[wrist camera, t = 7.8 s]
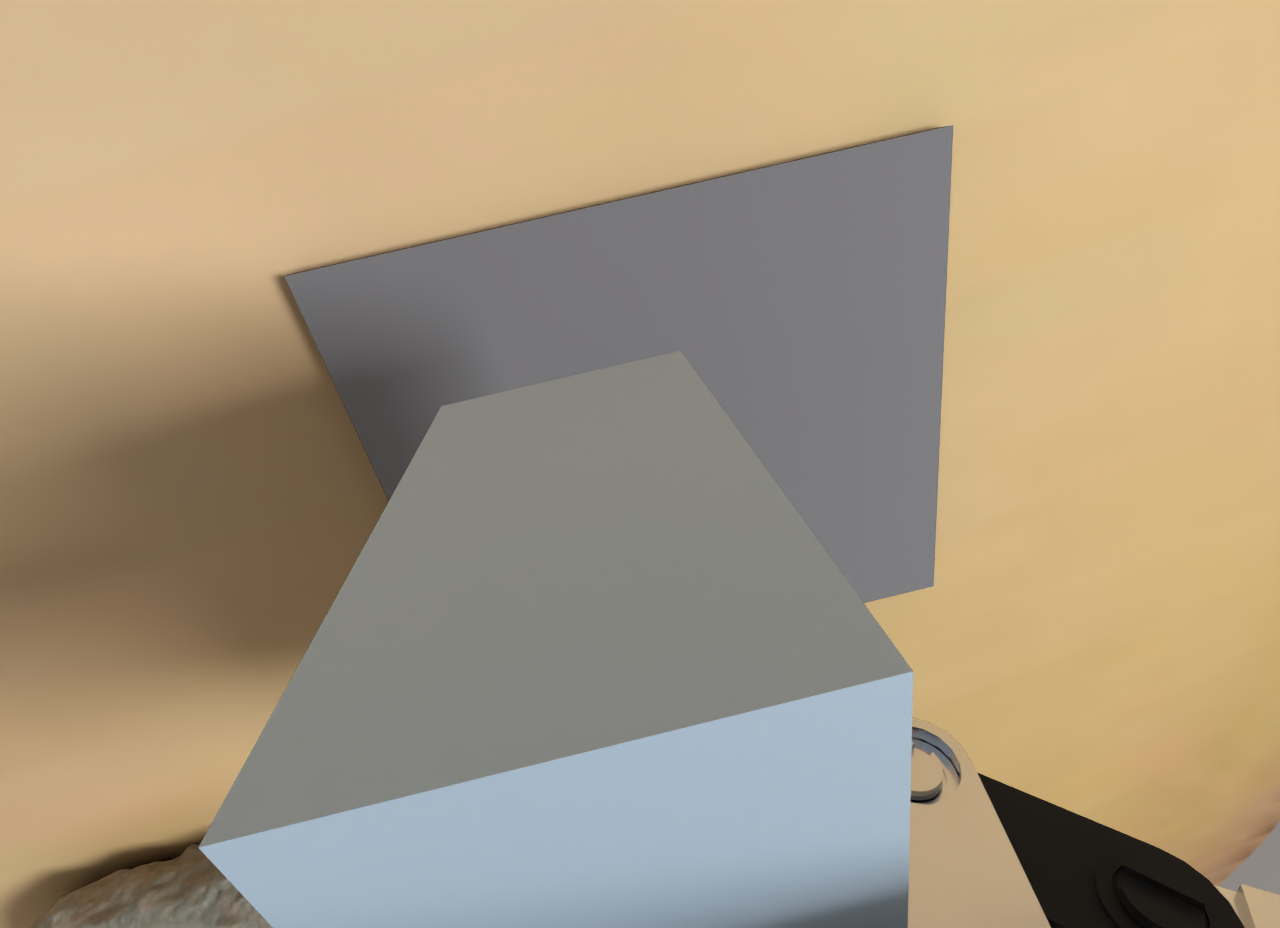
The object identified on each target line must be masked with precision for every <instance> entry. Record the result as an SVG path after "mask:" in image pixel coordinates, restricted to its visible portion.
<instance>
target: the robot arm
mask: <svg viewBox="0 0 1280 928" xmlns="http://www.w3.org/2000/svg"><path fill="white" fill-rule="evenodd" d="M908 928H1280V895H1277V894H1274V893H1271V892H1267V891H1263V890H1260V889H1257V888H1253V887H1250V886H1246V885H1243V884H1241V885H1240V887H1239V889H1238V891H1237V892H1236V891H1232V890H1229V889H1225V888H1222V887H1219V886H1215V885H1213V884H1212V883H1211V882H1210V881H1209V880H1208V879H1207V878H1205V877H1204V876H1203V875H1202V874H1200V873H1199V872H1198V871H1196V870H1195V869H1194V868H1192V867H1191V866H1190V865H1188V864H1187V863H1186V862H1184V861H1182V860H1181V859H1179V858H1177V857H1175V856H1173V855H1171V854H1169V853H1167V852H1165V851H1163V850H1161V849H1160V848H1157V847H1155V846H1152V845H1150V844H1148V843H1145V842H1143V841H1140V840H1138V839H1136V838H1133V837H1131V836H1128V835H1126V834H1124V833H1121V832H1119V831H1116V830H1114V829H1112V828H1109V827H1107V826H1104V825H1102V824H1100V823H1097V822H1095V821H1092V820H1090V819H1087V818H1085V817H1083V816H1080V815H1078V814H1075V813H1073V812H1071V811H1068V810H1066V809H1063V808H1061V807H1059V806H1056V805H1054V804H1051V803H1049V802H1047V801H1044V800H1042V799H1039V798H1037V797H1035V796H1032V795H1030V794H1027V793H1025V792H1023V791H1020V790H1018V789H1015V788H1013V787H1010V786H1008V785H1006V784H1003V783H1001V782H998V781H996V780H994V779H991V778H989V777H986V776H984V775H982V774H979V773H977V771H976V769H975V767H974V765H973V763H972V761H971V759H970V757H969V756H968V754H967V753H966V751H965V750H964V748H963V747H962V745H961V744H960V743H959V742H958V741H957V740H956V739H955V738H953V737H952V736H951V735H950V734H949V733H948V732H947V731H945V730H943V729H941V728H939V727H938V726H936V725H934V724H932V723H930V722H927V721H924V720H920V719H917V718H914V717H912V749H911V797H910V844H909V892H908Z"/></svg>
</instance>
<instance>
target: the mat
mask: <svg viewBox="0 0 1280 928" xmlns="http://www.w3.org/2000/svg"><path fill="white" fill-rule="evenodd" d="M952 142H953V125H952V126H945V127H940V128H936V129H931V130H927V131H923V132H918V133H914V134H909V135H905V136H900V137H896V138H892V139H887V140H883V141H878V142H874V143H869V144H865V145H861V146H856V147H852V148H847V149H843V150H839V151H834V152H830V153H825V154H821V155H816V156H812V157H808V158H803V159H799V160H794V161H790V162H785V163H781V164H777V165H772V166H768V167H763V168H759V169H754V170H750V171H746V172H741V173H737V174H732V175H728V176H723V177H719V178H715V179H710V180H706V181H701V182H697V183H693V184H688V185H684V186H679V187H675V188H670V189H666V190H662V191H657V192H653V193H648V194H644V195H639V196H635V197H631V198H626V199H622V200H617V201H613V202H608V203H604V204H600V205H595V206H591V207H586V208H582V209H578V210H573V211H569V212H564V213H560V214H555V215H551V216H547V217H542V218H538V219H533V220H529V221H524V222H520V223H516V224H511V225H507V226H502V227H498V228H493V229H489V230H485V231H480V232H476V233H471V234H467V235H462V236H458V237H454V238H449V239H445V240H440V241H436V242H432V243H427V244H423V245H418V246H414V247H409V248H405V249H401V250H396V251H392V252H387V253H383V254H378V255H374V256H370V257H365V258H361V259H356V260H352V261H347V262H343V263H339V264H334V265H330V266H325V267H321V268H316V269H312V270H308V271H303V272H299V273H294V274H290V275H287V276H284V277H285V279H286V281H287V284H288V286H289V288H290V290H291V292H292V294H293V296H294V299H295V301H296V303H297V305H298V307H299V309H300V312H301V314H302V316H303V318H304V320H305V322H306V324H307V327H308V329H309V331H310V333H311V335H312V337H313V339H314V342H315V344H316V346H317V348H318V350H319V352H320V354H321V357H322V359H323V361H324V363H325V365H326V367H327V369H328V372H329V374H330V376H331V378H332V380H333V382H334V384H335V387H336V389H337V391H338V393H339V395H340V397H341V400H342V402H343V404H344V406H345V408H346V410H347V412H348V415H349V417H350V419H351V421H352V423H353V425H354V427H355V430H356V432H357V434H358V436H359V438H360V440H361V442H362V445H363V447H364V449H365V451H366V453H367V455H368V457H369V460H370V462H371V464H372V466H373V468H374V470H375V473H376V475H377V477H378V479H379V481H380V483H381V485H382V488H383V490H384V492H385V494H386V496H387V498H388V500H390V499H391V497H392V495H393V493H394V491H395V490H396V488H397V486H398V484H399V482H400V480H401V479H402V477H403V475H404V473H405V471H406V470H407V468H408V466H409V464H410V462H411V461H412V459H413V457H414V455H415V453H416V451H417V450H418V448H419V446H420V444H421V442H422V441H423V439H424V437H425V435H426V433H427V431H428V430H429V428H430V426H431V424H432V422H433V421H434V419H435V417H436V415H437V413H438V411H439V410H440V408H441V406H444V405H449V404H453V403H457V402H462V401H466V400H470V399H474V398H479V397H483V396H487V395H492V394H496V393H500V392H505V391H509V390H513V389H518V388H522V387H526V386H530V385H535V384H539V383H543V382H548V381H552V380H556V379H561V378H565V377H569V376H574V375H578V374H582V373H586V372H591V371H595V370H599V369H604V368H608V367H612V366H617V365H621V364H625V363H630V362H634V361H638V360H642V359H647V358H651V357H655V356H660V355H664V354H668V353H673V352H677V351H681V352H682V354H683V355H684V356H685V358H686V359H687V360H688V362H689V363H690V365H691V366H692V367H693V369H694V370H695V371H696V373H697V374H698V376H699V377H700V378H701V380H702V381H703V382H704V384H705V385H706V387H707V388H708V389H709V391H710V392H711V393H712V395H713V396H714V398H715V399H716V400H717V402H718V403H719V405H720V406H721V407H722V409H723V410H724V411H725V413H726V414H727V416H728V417H729V418H730V420H731V421H732V422H733V424H734V425H735V427H736V428H737V429H738V431H739V432H740V433H741V435H742V436H743V438H744V439H745V440H746V442H747V443H748V444H749V446H750V447H751V449H752V450H753V451H754V453H755V454H756V456H757V457H758V458H759V460H760V461H761V462H762V464H763V465H764V467H765V468H766V469H767V471H768V472H769V473H770V475H771V476H772V478H773V479H774V480H775V482H776V483H777V484H778V486H779V487H780V489H781V490H782V491H783V493H784V494H785V495H786V497H787V498H788V500H789V501H790V502H791V504H792V505H793V507H794V508H795V509H796V511H797V512H798V513H799V515H800V516H801V518H802V519H803V520H804V522H805V523H806V524H807V526H808V527H809V529H810V530H811V531H812V533H813V534H814V535H815V537H816V538H817V540H818V541H819V542H820V544H821V545H822V546H823V548H824V549H825V551H826V552H827V553H828V555H829V556H830V557H831V559H832V560H833V562H834V563H835V564H836V566H837V567H838V569H839V570H840V571H841V573H842V574H843V575H844V577H845V578H846V580H847V581H848V582H849V584H850V585H851V586H852V588H853V589H854V591H855V592H856V593H857V595H858V596H859V597H860V599H861V600H862V602H863V603H866V602H870V601H874V600H878V599H882V598H887V597H891V596H895V595H899V594H903V593H907V592H911V591H915V590H920V589H924V588H928V587H932V586H933V585H934V561H935V538H936V515H937V491H938V468H939V445H940V422H941V398H942V375H943V352H944V328H945V305H946V282H947V258H948V235H949V212H950V189H951V165H952Z"/></svg>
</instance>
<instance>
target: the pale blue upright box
mask: <svg viewBox="0 0 1280 928" xmlns="http://www.w3.org/2000/svg"><path fill="white" fill-rule="evenodd" d="M912 702H913V670H912V669H911V668H910V666H909V665H908V664H907V662H906V661H905V659H904V658H903V657H902V655H901V654H900V653H899V651H898V650H897V648H896V647H895V646H894V644H893V643H892V642H891V640H890V639H889V637H888V636H887V635H886V633H885V632H884V631H883V629H882V628H881V626H880V625H879V624H878V622H877V621H876V619H875V618H874V617H873V615H872V614H871V613H870V611H869V610H868V608H867V607H866V606H865V604H864V603H863V602H862V600H861V599H860V597H859V596H858V595H857V593H856V592H855V591H854V589H853V588H852V586H851V585H850V584H849V582H848V581H847V580H846V578H845V577H844V575H843V574H842V573H841V571H840V570H839V569H838V567H837V566H836V564H835V563H834V562H833V560H832V559H831V557H830V556H829V555H828V553H827V552H826V551H825V549H824V548H823V546H822V545H821V544H820V542H819V541H818V540H817V538H816V537H815V535H814V534H813V533H812V531H811V530H810V529H809V527H808V526H807V524H806V523H805V522H804V520H803V519H802V518H801V516H800V515H799V513H798V512H797V511H796V509H795V508H794V507H793V505H792V504H791V502H790V501H789V500H788V498H787V497H786V495H785V494H784V493H783V491H782V490H781V489H780V487H779V486H778V484H777V483H776V482H775V480H774V479H773V478H772V476H771V475H770V473H769V472H768V471H767V469H766V468H765V467H764V465H763V464H762V462H761V461H760V460H759V458H758V457H757V456H756V454H755V453H754V451H753V450H752V449H751V447H750V446H749V444H748V443H747V442H746V440H745V439H744V438H743V436H742V435H741V433H740V432H739V431H738V429H737V428H736V427H735V425H734V424H733V422H732V421H731V420H730V418H729V417H728V416H727V414H726V413H725V411H724V410H723V409H722V407H721V406H720V405H719V403H718V402H717V400H716V399H715V398H714V396H713V395H712V393H711V392H710V391H709V389H708V388H707V387H706V385H705V384H704V382H703V381H702V380H701V378H700V377H699V376H698V374H697V373H696V371H695V370H694V369H693V367H692V366H691V365H690V363H689V362H688V360H687V359H686V358H685V356H684V355H683V354H682V352H681V351H677V352H673V353H668V354H664V355H660V356H655V357H651V358H647V359H642V360H638V361H634V362H630V363H625V364H621V365H617V366H612V367H608V368H604V369H599V370H595V371H591V372H586V373H582V374H578V375H574V376H569V377H565V378H561V379H556V380H552V381H548V382H543V383H539V384H535V385H530V386H526V387H522V388H518V389H513V390H509V391H505V392H500V393H496V394H492V395H487V396H483V397H479V398H474V399H470V400H466V401H462V402H457V403H453V404H449V405H444V406H441V408H440V410H439V411H438V413H437V415H436V417H435V419H434V421H433V422H432V424H431V426H430V428H429V430H428V431H427V433H426V435H425V437H424V439H423V441H422V442H421V444H420V446H419V448H418V450H417V451H416V453H415V455H414V457H413V459H412V461H411V462H410V464H409V466H408V468H407V470H406V471H405V473H404V475H403V477H402V479H401V480H400V482H399V484H398V486H397V488H396V490H395V491H394V493H393V495H392V497H391V499H390V500H389V502H388V504H387V506H386V508H385V510H384V511H383V513H382V515H381V517H380V519H379V520H378V522H377V524H376V526H375V528H374V530H373V531H372V533H371V535H370V537H369V539H368V540H367V542H366V544H365V546H364V548H363V550H362V551H361V553H360V555H359V557H358V559H357V560H356V562H355V564H354V566H353V568H352V569H351V571H350V573H349V575H348V577H347V579H346V580H345V582H344V584H343V586H342V588H341V589H340V591H339V593H338V595H337V597H336V599H335V600H334V602H333V604H332V606H331V608H330V609H329V611H328V613H327V615H326V617H325V619H324V620H323V622H322V624H321V626H320V628H319V629H318V631H317V633H316V635H315V637H314V639H313V640H312V642H311V644H310V646H309V648H308V649H307V651H306V653H305V655H304V657H303V658H302V660H301V662H300V664H299V666H298V668H297V669H296V671H295V673H294V675H293V677H292V678H291V680H290V682H289V684H288V686H287V688H286V689H285V691H284V693H283V695H282V697H281V698H280V700H279V702H278V704H277V706H276V708H275V709H274V711H273V713H272V715H271V717H270V718H269V720H268V722H267V724H266V726H265V728H264V729H263V731H262V733H261V735H260V737H259V738H258V740H257V742H256V744H255V746H254V747H253V749H252V751H251V753H250V755H249V757H248V758H247V760H246V762H245V764H244V766H243V767H242V769H241V771H240V773H239V775H238V777H237V778H236V780H235V782H234V784H233V786H232V787H231V789H230V791H229V793H228V795H227V797H226V798H225V800H224V802H223V804H222V806H221V807H220V809H219V811H218V813H217V815H216V817H215V818H214V820H213V822H212V824H211V826H210V827H209V829H208V831H207V833H206V835H205V836H204V838H203V840H202V842H201V844H200V846H199V847H198V848H199V849H200V850H201V851H202V852H203V853H204V854H205V855H206V856H207V858H208V859H209V860H210V861H211V862H212V863H213V864H214V865H215V866H216V867H217V868H218V869H219V870H220V871H221V873H222V874H223V875H224V876H225V877H226V878H227V879H228V880H229V881H230V882H231V883H232V884H233V885H234V886H235V888H236V889H237V890H238V891H239V892H240V893H241V894H242V895H243V896H244V897H245V898H246V899H247V900H248V901H249V903H250V904H251V905H252V906H253V907H254V908H255V909H256V910H257V911H258V912H259V913H260V914H261V915H262V916H263V918H264V919H265V920H266V921H267V922H268V923H269V924H270V925H271V926H272V927H273V928H908V892H909V844H910V797H911V749H912Z"/></svg>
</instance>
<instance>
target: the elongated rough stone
mask: <svg viewBox="0 0 1280 928" xmlns="http://www.w3.org/2000/svg"><path fill="white" fill-rule="evenodd" d="M199 846H200V844H192V845H190V846H188V847H187V849H186V850H185V851H184V852H183V854H182V855H181V856H179V857H177V858H175V859H172V860H168V861H163V862H159V861H158V862H153V863H149V864H144V865H140V866H138V867H135V868H133V869H121V870H118V871H115V872H114V873H112V874H110V875H108V876H106V877H104V878H102V879H100V880H98V881H96V882H93V883H91V884H89V885H87V886H84V887H81V888H79V889H77V890H74V891H72V892H71V893H69V894H67V895H63V896H61V897H60V898H59V899H58V900H57V901H56V902H55V904H54V905H53V906H51V907H50V908H49V909H48V910H47V911H46V913H45V914H44V915H43V916H41V917H40V918H39V919H37V920H36V921H35V922H34V923H33V925H32V926H31V927H30V928H273V927H272V926H271V925H270V924H269V923H268V922H267V921H266V920H265V919H264V918H263V916H262V915H261V914H260V913H259V912H258V911H257V910H256V909H255V908H254V907H253V906H252V905H251V904H250V903H249V901H248V900H247V899H246V898H245V897H244V896H243V895H242V894H241V893H240V892H239V891H238V890H237V889H236V888H235V886H234V885H233V884H232V883H231V882H230V881H229V880H228V879H227V878H226V877H225V876H224V875H223V874H222V873H221V871H220V870H219V869H218V868H217V867H216V866H215V865H214V864H213V863H212V862H211V861H210V860H209V859H208V858H207V856H206V855H205V854H204V853H203V852H202V851H201V850H200V849H199V848H198V847H199Z"/></svg>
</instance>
